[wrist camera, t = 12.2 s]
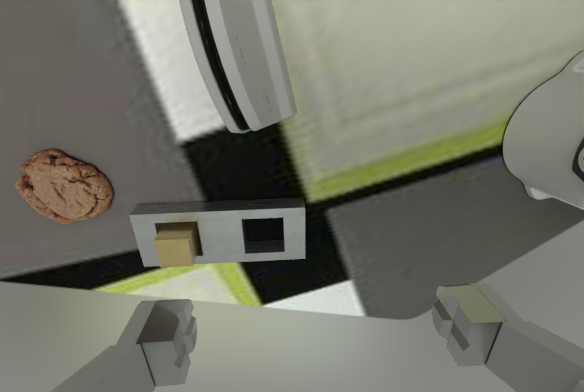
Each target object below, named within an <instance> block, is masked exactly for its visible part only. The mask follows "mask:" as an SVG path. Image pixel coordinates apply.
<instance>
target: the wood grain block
mask: <svg viewBox="0 0 584 392" xmlns="http://www.w3.org/2000/svg"><path fill="white" fill-rule="evenodd" d="M154 244H155V248H156V252H157V256H158V260H159V264H160V267H179V266H193V264H194V262H195V259H196V257H197V254H198V251H199V249H200V246H201V239H200V233H199V228H198V222H197V221H191V222H168V223H165V224H164V225H163V227H162V228H161V230H160V231H159V233H158V234H157V236H156V237H155V239H154Z"/></svg>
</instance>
